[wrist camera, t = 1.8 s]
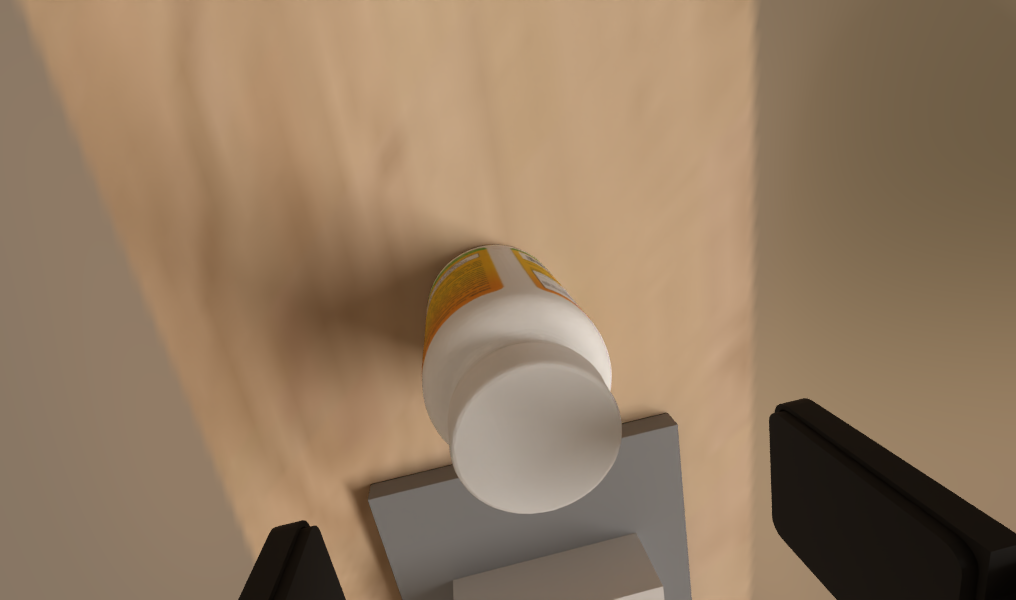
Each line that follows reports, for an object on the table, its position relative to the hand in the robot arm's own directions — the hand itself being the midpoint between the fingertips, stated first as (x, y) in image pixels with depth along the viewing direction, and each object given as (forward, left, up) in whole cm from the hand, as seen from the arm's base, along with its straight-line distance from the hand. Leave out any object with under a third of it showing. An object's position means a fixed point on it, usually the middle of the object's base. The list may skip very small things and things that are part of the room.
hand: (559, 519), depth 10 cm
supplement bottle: (-1, 0, -11) cm, 11 cm away
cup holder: (+16, 0, -11) cm, 20 cm away
